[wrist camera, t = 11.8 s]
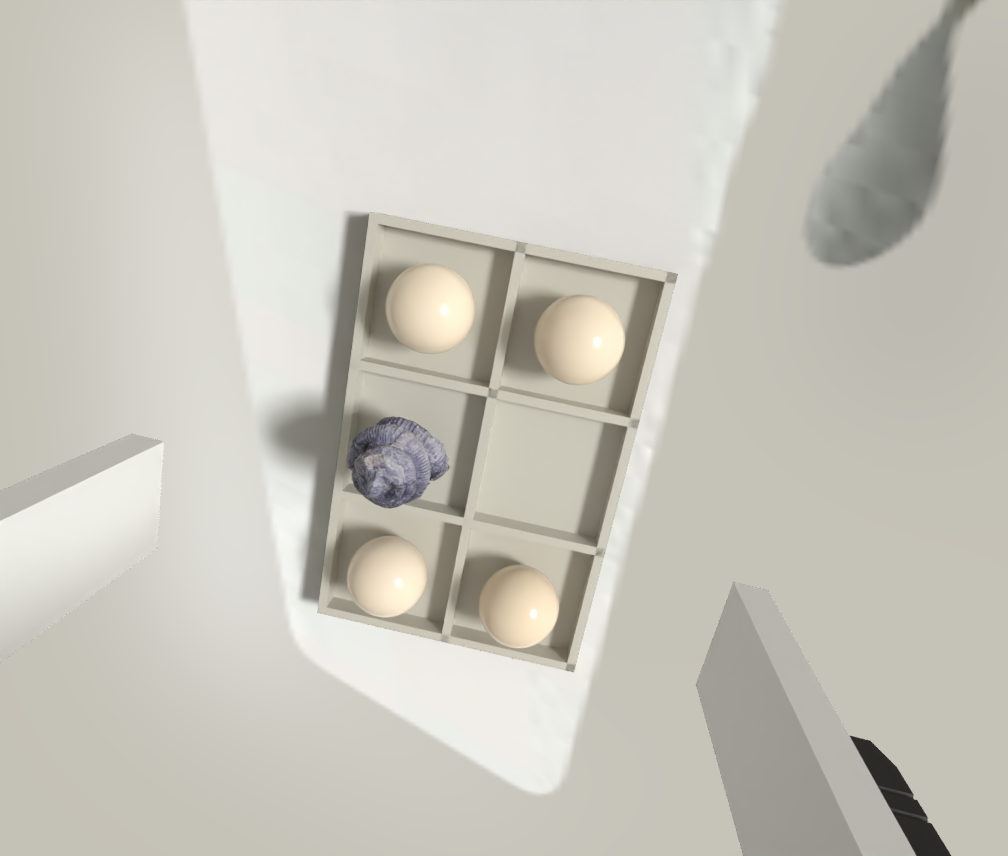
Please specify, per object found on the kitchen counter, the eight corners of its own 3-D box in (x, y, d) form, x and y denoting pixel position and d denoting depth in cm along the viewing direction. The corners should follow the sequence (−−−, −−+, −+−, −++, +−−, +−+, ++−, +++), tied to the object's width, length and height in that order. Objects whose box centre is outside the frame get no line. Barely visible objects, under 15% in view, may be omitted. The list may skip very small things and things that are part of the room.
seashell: (376, 469, 45) (323, 527, 35) (383, 394, 43) (329, 433, 34) (452, 482, 44) (419, 543, 35) (461, 407, 43) (429, 449, 33)
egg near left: (404, 254, 41) (380, 254, 36) (488, 271, 41) (476, 273, 35) (392, 338, 42) (367, 350, 37) (472, 355, 42) (459, 369, 37)
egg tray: (379, 213, 41) (369, 211, 39) (672, 273, 40) (677, 273, 38) (327, 598, 48) (317, 612, 46) (573, 655, 47) (573, 672, 46)
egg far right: (491, 543, 45) (481, 581, 40) (567, 560, 45) (566, 600, 40) (477, 610, 47) (466, 654, 42) (551, 627, 47) (548, 673, 41)
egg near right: (545, 283, 40) (542, 287, 35) (630, 301, 40) (639, 307, 35) (528, 367, 42) (522, 382, 37) (610, 384, 42) (616, 402, 36)
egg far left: (366, 515, 46) (340, 548, 41) (440, 532, 45) (423, 567, 40) (356, 582, 47) (330, 623, 42) (428, 599, 47) (410, 641, 42)
